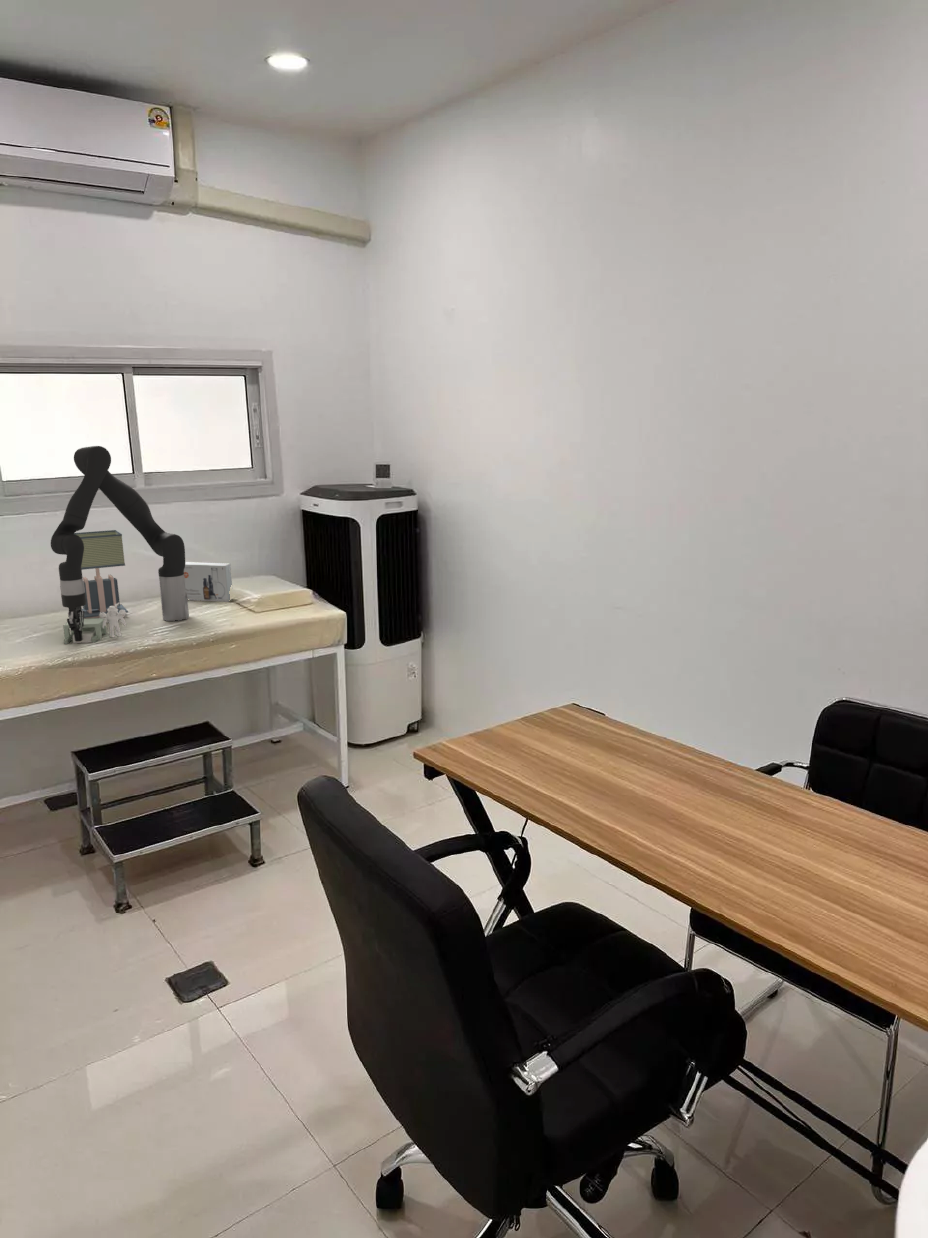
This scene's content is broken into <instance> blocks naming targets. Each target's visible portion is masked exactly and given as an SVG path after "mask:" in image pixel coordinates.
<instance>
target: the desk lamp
mask: <svg viewBox="0 0 928 1238" xmlns="http://www.w3.org/2000/svg"><path fill="white" fill-rule="evenodd" d="M74 535H78V536H79V537H80V538H81V539H82V541H83V544H84V553H83V559H82V565H81V569H82V571H83V570H93V569H95V575H94V579H91V580H90V579H88V578H87V577H86V576H82V577H83V582H84V587H85V595H86V605H84V606H82V610H83V611H84V612H85V615H84V618H99V617H100V616H99V614H100V612H101V613H102V612H104V613H105V614H106V615H107V613H108V611H107V609H108V608H109V606H115V604H117V603H118V602H121V601H120V595H119V594H120V593H119V585H118V579H117V578H116V577H114V576H113V575H112V574H108V575H107V577H108V578H103V577H102V576H101V573H100V569H104V568H113V567H114V568H115V567H123V566H126V563H125V555H124V545H123V534H122V533H121V532H120V531H118V530H116V529H112V530H109V529H108V530H99V531H84V532H75V533H74ZM116 606H117V607H115V608H117V609H118V613H119V611H120V610H123V611H124V610H125V612H126V614H127V613H129V611H128V610H127V608H126V607H125V606H124V605H123V604H121V603H119V605H116ZM122 616H124V615H122ZM125 617H126V615H125V616H124V617H123V618H125ZM104 618H105V617H104Z"/></svg>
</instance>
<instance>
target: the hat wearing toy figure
mask: <svg viewBox="0 0 928 1238" xmlns="http://www.w3.org/2000/svg"><path fill="white" fill-rule="evenodd" d="M120 602H121V601H120ZM120 602H118V603H117V604H115V606H109V608H108V609H107V611H108V613H107V615H106V614H105V613H104V612H102V613H101V612H100V614H99V616H100V617H99V618H102V619H104V621H103V624H102V628H103V629H104V626H105V625H107V624H108V625H109V626H108V628H109V638H110V637H113V638H115V636H116V637H118V636H119V637H122V632H121V628H120V624H119V620H120V621H121V625H124V627H126V626H127V621H126V620H125V617H126V616H127V613H126V612H125V610H124V611H123V610H120V611H119V613H118V609H117V608H115V607H117V606H116V605H119V603H120ZM120 604H121V603H120ZM122 615H124V616H125V617H124V616H122ZM104 617H105V618H104ZM105 623H106V624H105ZM114 629H115V631H114Z"/></svg>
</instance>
